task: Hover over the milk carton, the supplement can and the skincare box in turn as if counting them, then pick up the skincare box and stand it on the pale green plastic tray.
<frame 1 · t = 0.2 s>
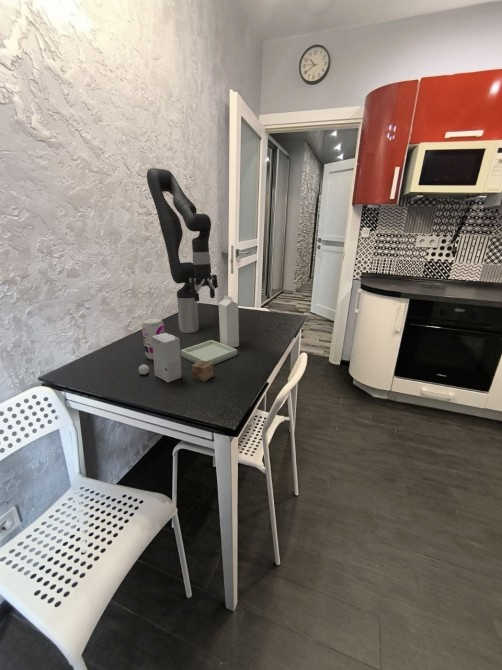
hand: (204, 299, 137), 18 cm above the table, tool pointing down, fingers open, 8 cm apart
grey rubber ball: (143, 369, 108), point 2 cm above the table
walnut block: (203, 377, 106), on the table
skincare box: (169, 377, 106), on the table
milk: (229, 345, 133), on the table
supplement can: (156, 356, 123), on the table
tray: (209, 355, 123), on the table
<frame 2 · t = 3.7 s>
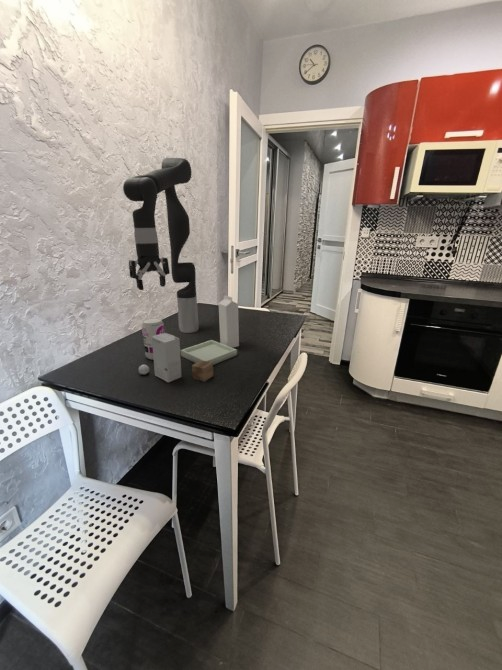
hand: (152, 288, 111), 28 cm above the table, tool pointing down, fingers open, 8 cm apart
nothing on the table moved.
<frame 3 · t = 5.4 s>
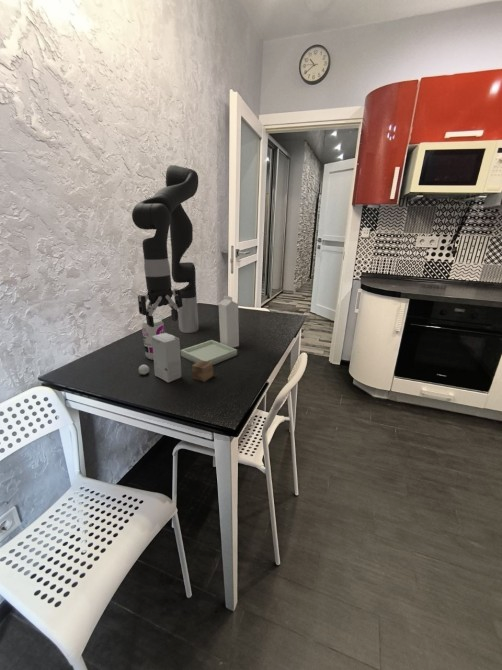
hand: (163, 323, 100), 19 cm above the table, tool pointing down, fingers open, 8 cm apart
nothing on the table moved.
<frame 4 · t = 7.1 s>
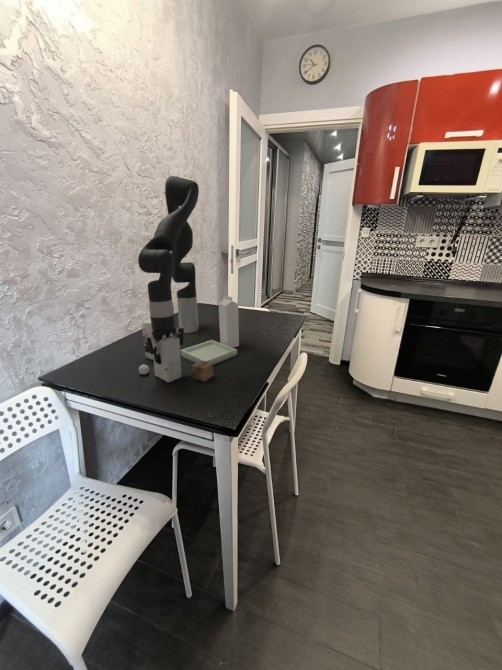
hand: (167, 360, 104), 6 cm above the table, tool pointing down, fingers closed on skincare box, 6 cm apart
skincare box: (169, 376, 106), on the table, touching gripper
everything else where it was.
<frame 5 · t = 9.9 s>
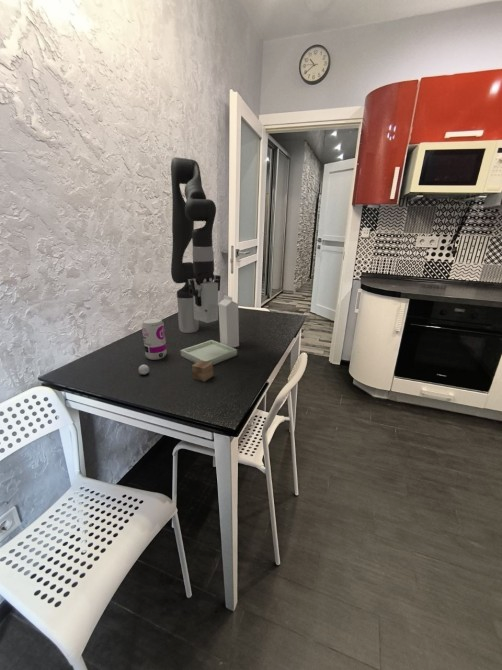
hand: (205, 304, 116), 21 cm above the table, tool pointing down, fingers closed on skincare box, 6 cm apart
skincare box: (206, 320, 118), point 15 cm above the table, touching gripper
everything else where it was.
when the fingers open (8 cm above the table, at t = 12.8 s): skincare box drops 1 cm, resting on tray.
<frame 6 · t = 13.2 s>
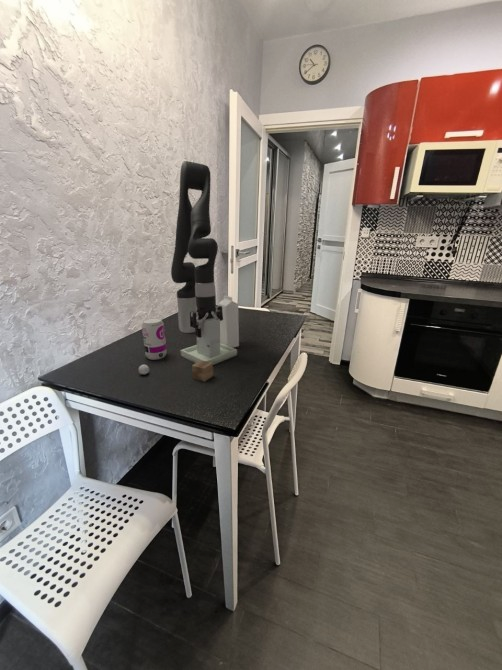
hand: (207, 334, 120), 9 cm above the table, tool pointing down, fingers open, 8 cm apart
skincare box: (209, 353, 123), point 1 cm above the table, touching tray
everything else where it was.
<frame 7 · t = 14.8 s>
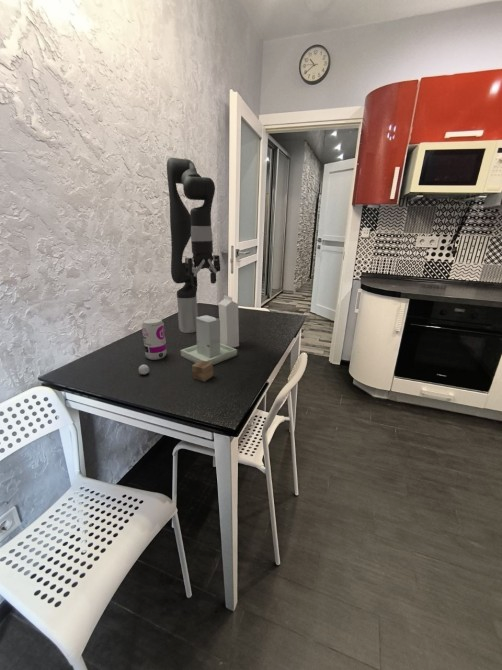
hand: (204, 284, 114), 29 cm above the table, tool pointing down, fingers open, 8 cm apart
nothing on the table moved.
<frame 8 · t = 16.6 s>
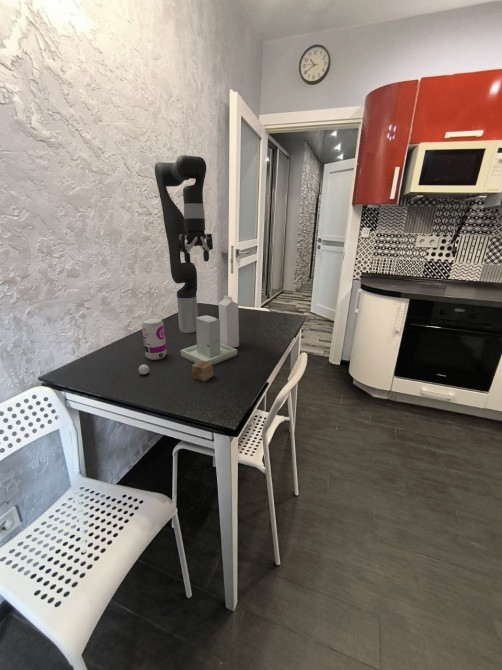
hand: (197, 262, 118), 36 cm above the table, tool pointing down, fingers open, 8 cm apart
nothing on the table moved.
at the end: skincare box inside the target area on the tray (0.2 cm from its centre), point 0.8 cm above the tray's base; skincare box tilted 0°; the gripper is holding nothing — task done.
